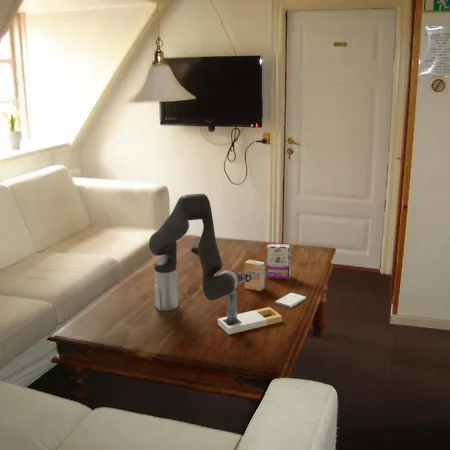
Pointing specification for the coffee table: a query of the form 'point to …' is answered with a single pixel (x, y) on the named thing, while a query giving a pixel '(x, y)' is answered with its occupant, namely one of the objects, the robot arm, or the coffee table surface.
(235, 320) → the peg
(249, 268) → the supplement box
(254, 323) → the rail
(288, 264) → the candy bar box
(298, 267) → the coffee table surface
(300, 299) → the external hard drive
